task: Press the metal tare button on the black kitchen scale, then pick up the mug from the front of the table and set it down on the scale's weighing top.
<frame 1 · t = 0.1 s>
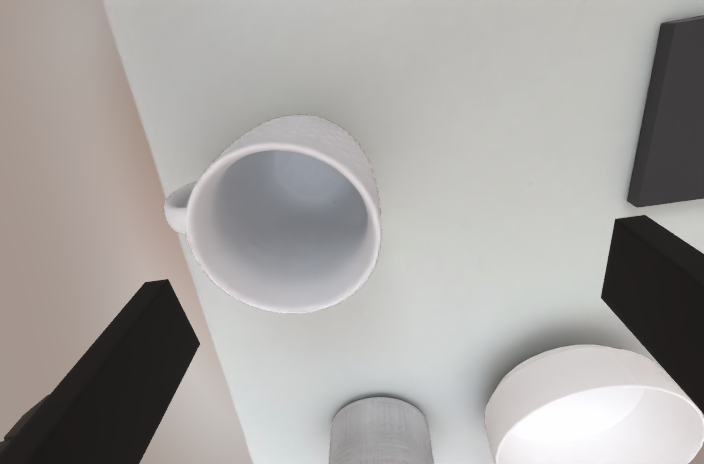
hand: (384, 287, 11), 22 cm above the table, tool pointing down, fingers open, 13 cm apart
mug: (299, 164, 32), on the table
planter: (379, 422, 49), on the table
bowl: (556, 380, 45), on the table
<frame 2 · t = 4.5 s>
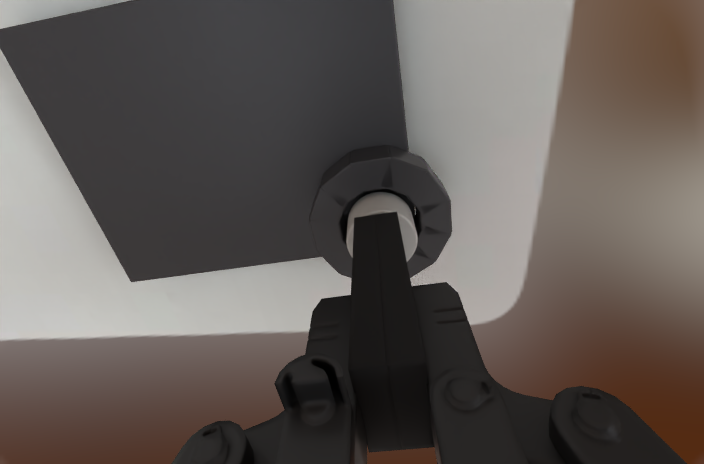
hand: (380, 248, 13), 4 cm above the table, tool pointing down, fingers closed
tare button: (380, 231, 14), point 3 cm above the table, slide at 0.0 cm, touching gripper
scale: (240, 141, 16), on the table
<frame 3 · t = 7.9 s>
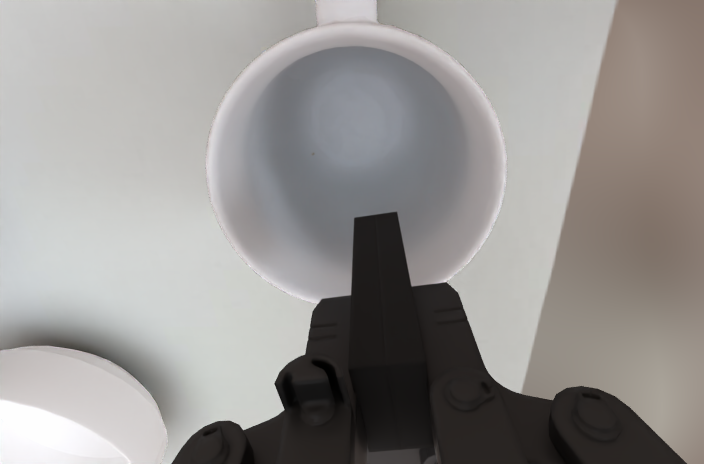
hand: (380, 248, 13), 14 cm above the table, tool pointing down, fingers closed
mug: (355, 101, 25), on the table
scale: (390, 424, 40), on the table
bowl: (90, 386, 39), on the table
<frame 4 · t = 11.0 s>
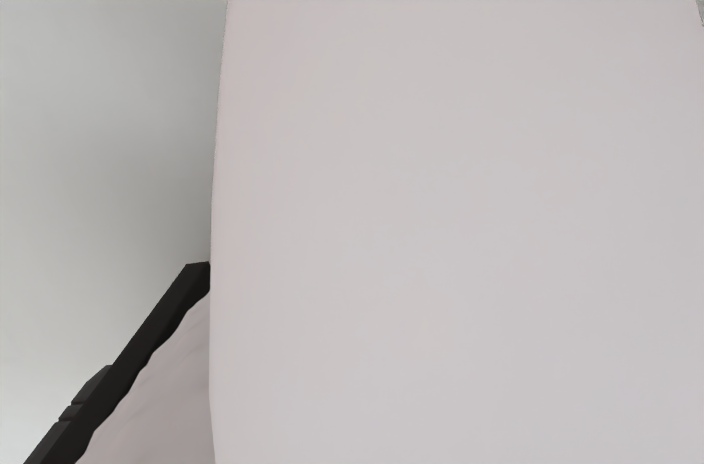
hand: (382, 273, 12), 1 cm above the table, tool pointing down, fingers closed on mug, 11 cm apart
mug: (384, 252, 13), on the table, touching gripper
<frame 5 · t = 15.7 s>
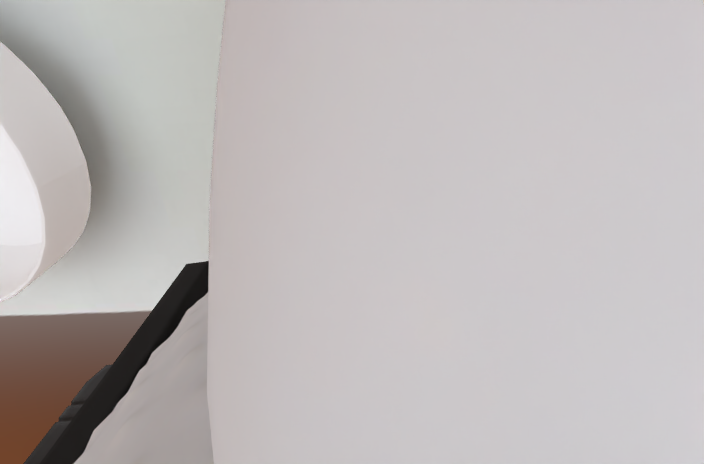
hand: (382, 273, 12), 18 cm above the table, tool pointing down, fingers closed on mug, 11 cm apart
mug: (384, 251, 13), point 17 cm above the table, touching gripper
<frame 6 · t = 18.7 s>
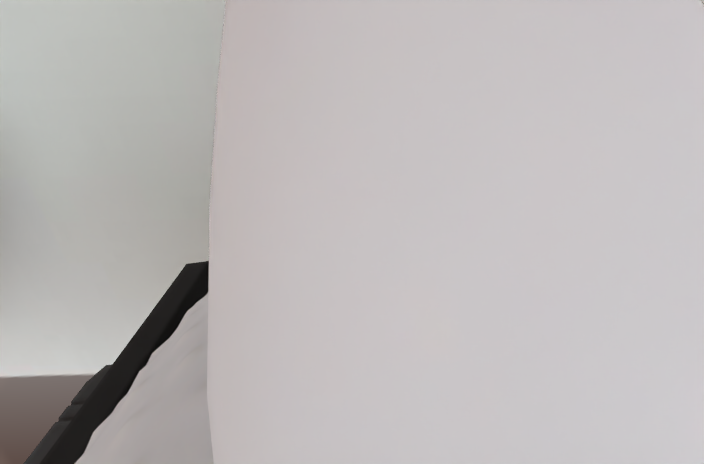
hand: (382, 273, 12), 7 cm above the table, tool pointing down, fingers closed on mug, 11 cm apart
mug: (384, 252, 13), point 6 cm above the table, touching gripper
when the fingers open (2 cm above the table, at t = 20.8 s): mug stays where it is, resting on scale.
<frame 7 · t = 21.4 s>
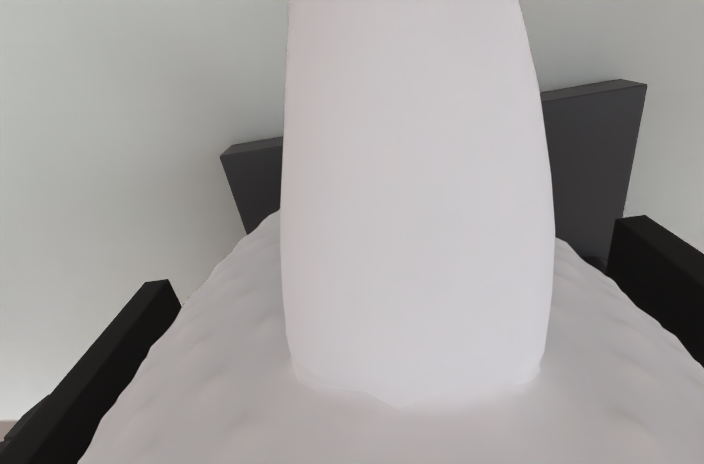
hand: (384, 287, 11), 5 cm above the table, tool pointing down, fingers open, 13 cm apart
mug: (380, 232, 14), point 1 cm above the table, touching scale
scale: (427, 243, 16), on the table
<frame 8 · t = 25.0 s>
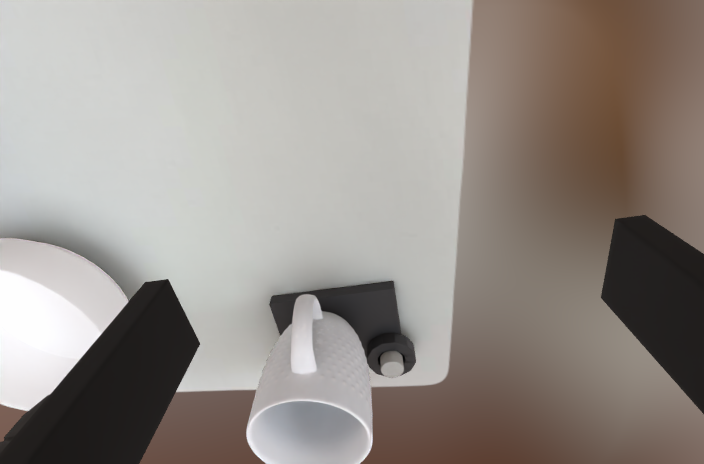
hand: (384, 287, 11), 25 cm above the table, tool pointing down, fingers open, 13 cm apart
tare button: (391, 363, 43), point 4 cm above the table, slide at 0.1 cm
mug: (321, 324, 43), point 1 cm above the table, touching scale
scale: (340, 325, 45), on the table
bowl: (72, 292, 44), on the table
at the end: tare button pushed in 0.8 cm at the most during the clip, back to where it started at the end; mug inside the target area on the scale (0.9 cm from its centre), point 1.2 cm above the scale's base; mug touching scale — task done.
